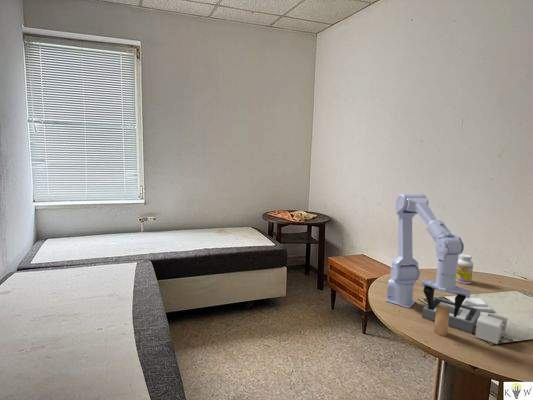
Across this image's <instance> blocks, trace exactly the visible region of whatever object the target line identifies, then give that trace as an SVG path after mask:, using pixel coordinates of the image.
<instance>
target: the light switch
mask: <svg viewBox="0 0 533 400" xmlns="http://www.w3.org/2000/svg"><path fill="white" fill-rule="evenodd" d="M455 297H456V296H450V297H449V299H450V300H451V302H455ZM462 305H466V306H470V307H473V308H477V309H481V312H482V311H485V313H495V310H494V309H493V308H492V307H491V305H489V303H488V302H487V301H485V299H484V298H482V297H470V298H465V300H464V301H463V303H462Z"/></svg>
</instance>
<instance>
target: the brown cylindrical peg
mask: <svg viewBox="0 0 533 400" xmlns="http://www.w3.org/2000/svg"><path fill="white" fill-rule="evenodd" d="M449 312H450V308H449V307H447V306H445V305H437V306H436V315H435V321H434V327H433V328H434V329H433V333H435V334H436V335H438V336H440V337H441V336H442V337H445V336H448V331H449V326H448V322H449Z"/></svg>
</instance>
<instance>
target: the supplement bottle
mask: <svg viewBox="0 0 533 400" xmlns="http://www.w3.org/2000/svg"><path fill="white" fill-rule="evenodd" d="M472 257H473V256H472V255H470V254H466V253H461V254H459V258H458V265H457V274H456V282H457V283H459V284H463V285H468V284H471V283H472V279H473V277H472V276H473V269H474V262H473V261H472Z"/></svg>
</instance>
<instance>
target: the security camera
mask: <svg viewBox="0 0 533 400" xmlns="http://www.w3.org/2000/svg"><path fill="white" fill-rule="evenodd" d="M508 319H509V318H508V317H506V316H502V315H498V314H495V313H493V312H487V315H486V314H481V313H480V317H479V318H478V320H477V325H476V327H475V335H474V337H475V338H477V339H480V340H483V341H485V342H489V343H492V344H494V345H495V344H496V345H498V344H499V342H500V340H501V337H502V335H506V332H507V325H508Z"/></svg>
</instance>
